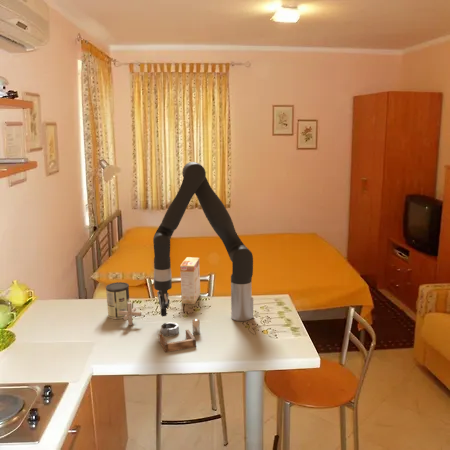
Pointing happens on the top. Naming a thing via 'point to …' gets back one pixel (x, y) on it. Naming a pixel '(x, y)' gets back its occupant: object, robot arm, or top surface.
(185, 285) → the coffeecake box
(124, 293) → the coffee can
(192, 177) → the robot arm
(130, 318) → the pipe connector
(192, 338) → the groove block
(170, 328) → the metal ring
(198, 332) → the beige rounded cylinder
